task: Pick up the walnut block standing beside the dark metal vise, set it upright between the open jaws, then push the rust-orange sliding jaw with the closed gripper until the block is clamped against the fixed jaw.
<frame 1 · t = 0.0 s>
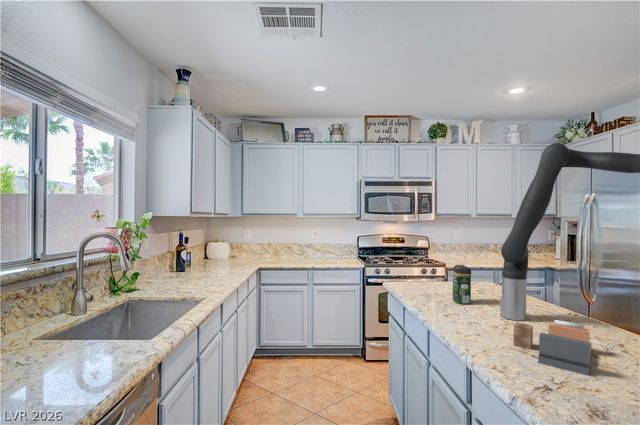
walnut block: (522, 345, 117), on the worktop
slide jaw: (568, 331, 115), point 5 cm above the worktop, slide at 0.0 cm
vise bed: (566, 355, 109), on the worktop
coffee jar: (461, 302, 172), on the worktop
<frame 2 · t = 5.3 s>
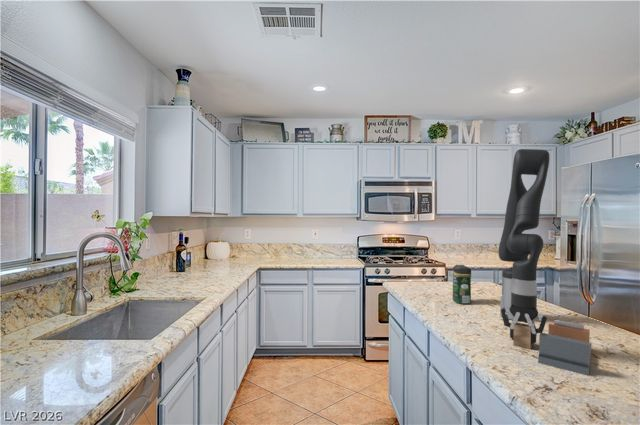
hand: (523, 341, 117), 1 cm above the worktop, tool pointing down, fingers closed on walnut block, 5 cm apart
walnut block: (522, 345, 117), on the worktop, touching gripper
everything else where it was.
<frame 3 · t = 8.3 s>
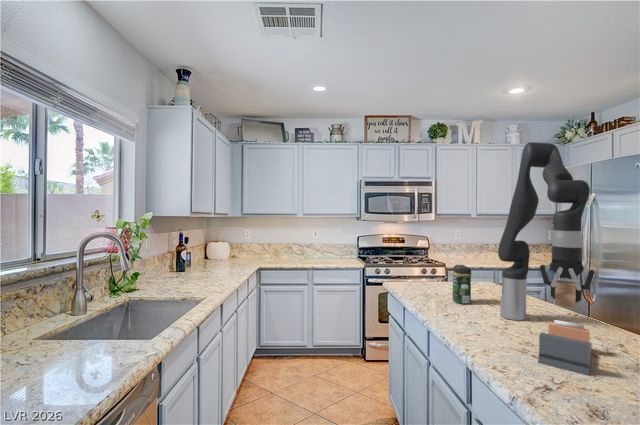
hand: (565, 300, 105), 19 cm above the worktop, tool pointing down, fingers closed on walnut block, 5 cm apart
walnut block: (565, 304, 105), point 17 cm above the worktop, touching gripper
everything else where it was.
when the fingers open (4 cm above the worktop, at t = 11.7 s): walnut block stays where it is, resting on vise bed.
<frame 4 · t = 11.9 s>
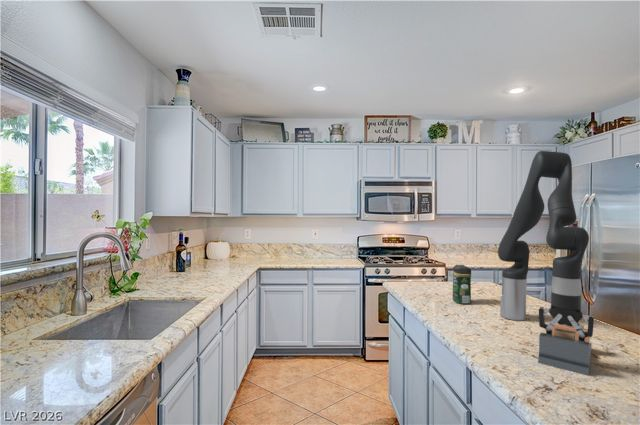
hand: (564, 345, 105), 5 cm above the worktop, tool pointing down, fingers open, 7 cm apart
walnut block: (564, 354, 105), point 2 cm above the worktop, touching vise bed
everything else where it was.
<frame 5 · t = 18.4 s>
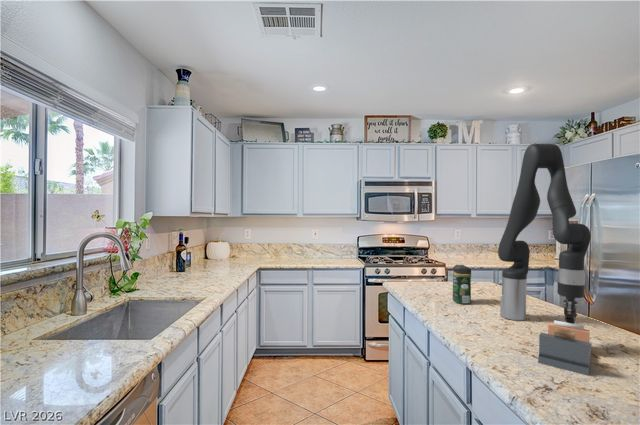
hand: (570, 332, 117), 5 cm above the worktop, tool pointing down, fingers closed
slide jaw: (568, 332, 115), point 5 cm above the worktop, slide at 0.8 cm, touching gripper
everything else where it was.
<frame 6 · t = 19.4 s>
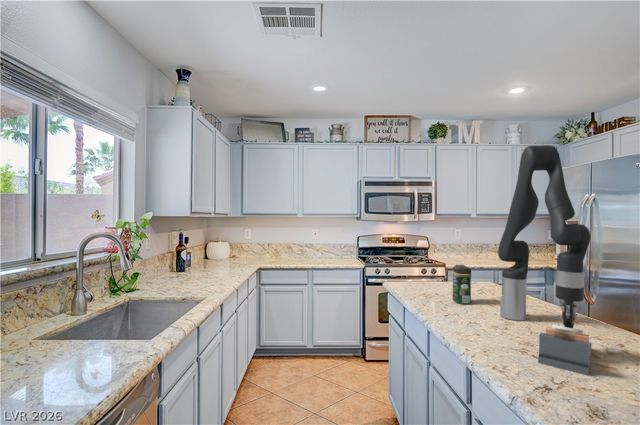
hand: (568, 337, 113), 5 cm above the worktop, tool pointing down, fingers closed
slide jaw: (566, 337, 110), point 5 cm above the worktop, slide at 6.7 cm, touching gripper
everything else where it was.
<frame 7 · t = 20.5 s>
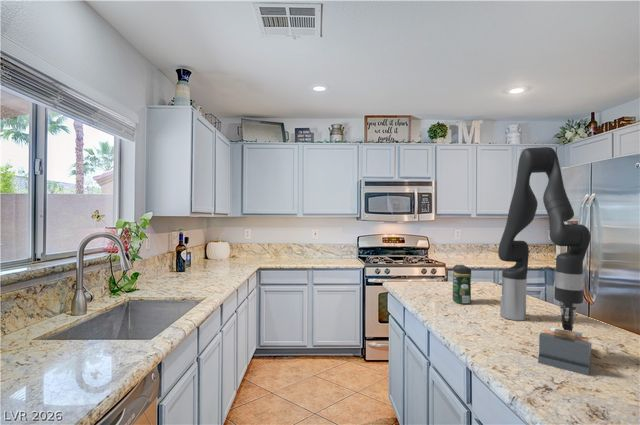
hand: (567, 339, 110), 5 cm above the worktop, tool pointing down, fingers closed
walnut block: (564, 354, 105), point 2 cm above the worktop, touching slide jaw, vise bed
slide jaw: (565, 340, 108), point 5 cm above the worktop, slide at 10.0 cm, touching gripper, walnut block
everything else where it was.
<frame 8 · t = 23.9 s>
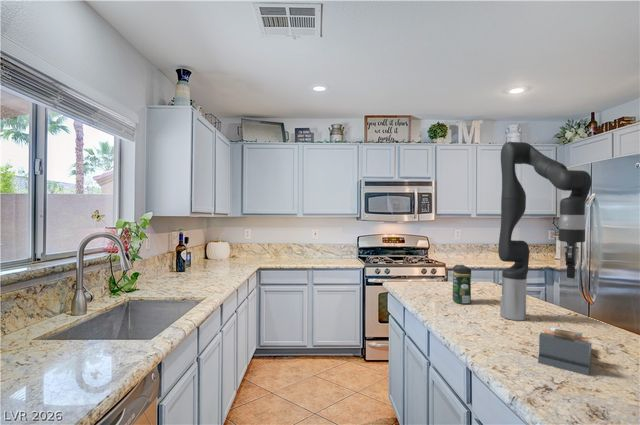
hand: (570, 277, 119), 23 cm above the worktop, tool pointing down, fingers closed
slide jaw: (565, 340, 108), point 5 cm above the worktop, slide at 10.0 cm, touching walnut block
everything else where it was.
at the end: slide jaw slide at 10.0 cm; walnut block 0.1 cm from the target spot on the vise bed, point 2.0 cm above the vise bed's base; walnut block tilted 0° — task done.
